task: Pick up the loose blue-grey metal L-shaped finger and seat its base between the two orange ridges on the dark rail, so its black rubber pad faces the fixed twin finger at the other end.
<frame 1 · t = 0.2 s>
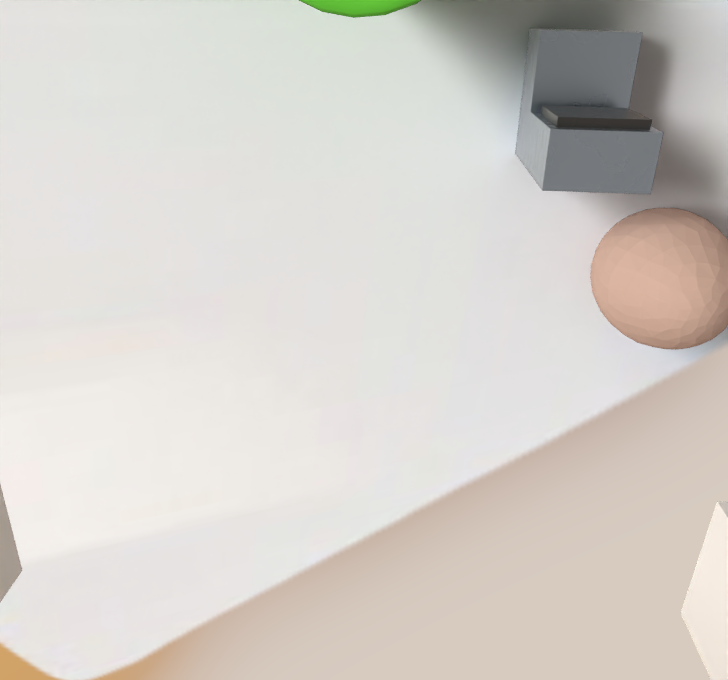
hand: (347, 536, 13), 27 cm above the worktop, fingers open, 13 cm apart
egg: (634, 248, 38), on the worktop
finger: (566, 94, 34), on the worktop
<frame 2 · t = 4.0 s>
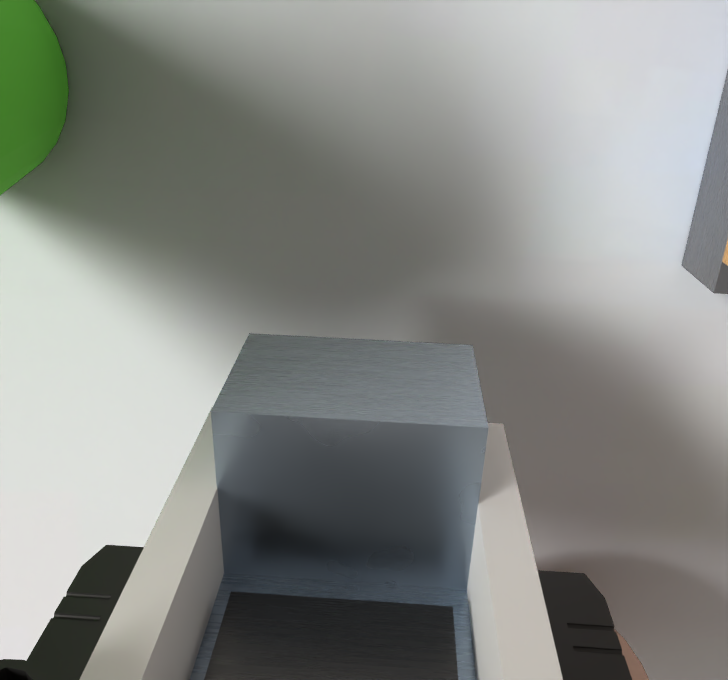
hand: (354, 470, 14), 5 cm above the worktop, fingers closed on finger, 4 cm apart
egg: (513, 604, 23), on the worktop
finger: (356, 461, 15), point 4 cm above the worktop, touching gripper
when the fingers open (2 cm above the worktop, at t = 7.2 s): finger stays where it is, resting on rail.
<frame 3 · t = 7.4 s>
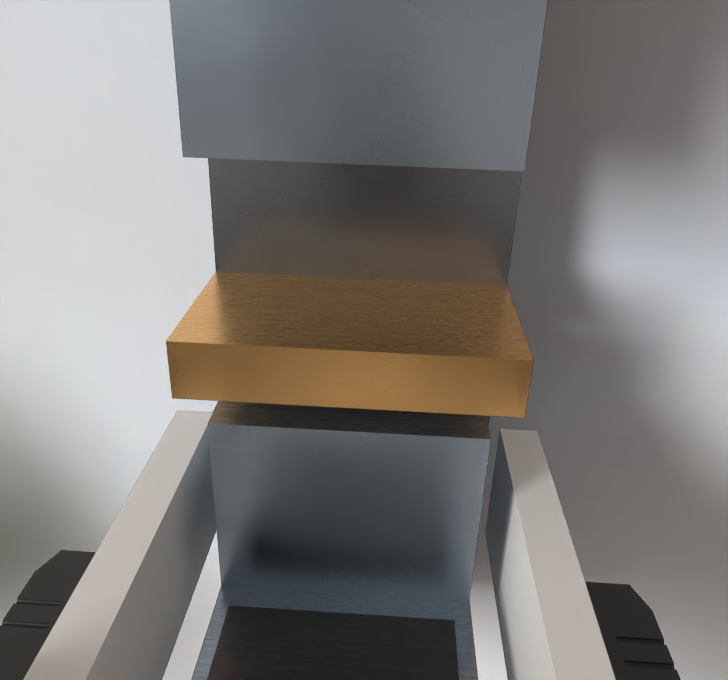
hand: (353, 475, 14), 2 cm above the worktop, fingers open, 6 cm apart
rail: (365, 256, 15), on the worktop
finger: (356, 469, 15), point 2 cm above the worktop, touching rail
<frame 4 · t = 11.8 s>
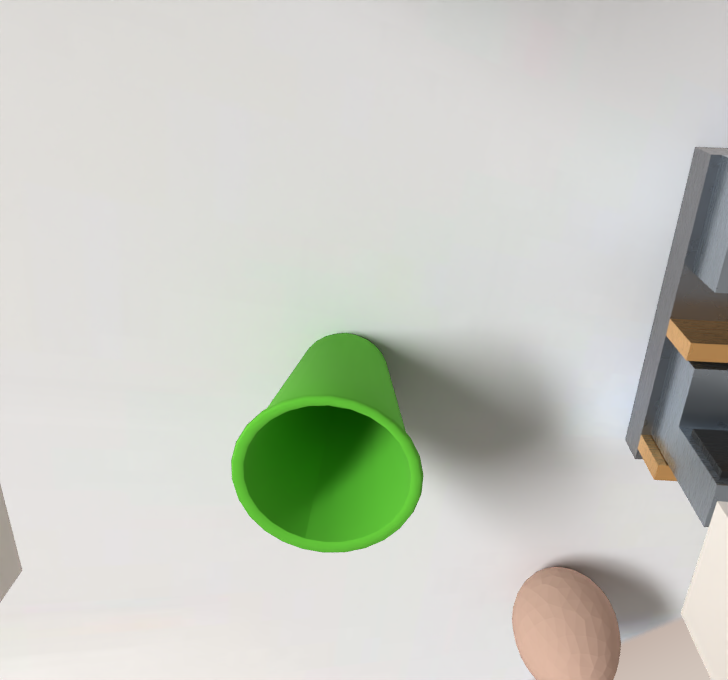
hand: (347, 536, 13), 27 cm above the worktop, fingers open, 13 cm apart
rail: (705, 310, 39), on the worktop
egg: (551, 576, 48), on the worktop
cup: (345, 367, 42), on the worktop
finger: (701, 392, 39), point 2 cm above the worktop, touching rail
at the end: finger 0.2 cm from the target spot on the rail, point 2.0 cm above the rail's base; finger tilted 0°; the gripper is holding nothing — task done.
